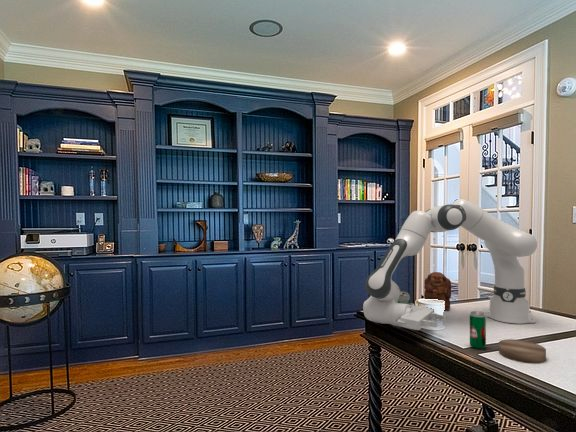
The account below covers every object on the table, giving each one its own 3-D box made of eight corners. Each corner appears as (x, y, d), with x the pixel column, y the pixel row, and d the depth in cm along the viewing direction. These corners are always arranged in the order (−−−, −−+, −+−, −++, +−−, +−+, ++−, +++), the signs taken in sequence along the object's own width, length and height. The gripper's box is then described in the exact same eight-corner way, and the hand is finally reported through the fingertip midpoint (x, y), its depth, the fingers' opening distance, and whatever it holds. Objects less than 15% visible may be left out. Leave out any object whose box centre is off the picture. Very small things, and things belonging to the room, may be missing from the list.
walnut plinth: (501, 345, 131) (501, 336, 131) (546, 353, 123) (546, 344, 123) (496, 357, 120) (496, 347, 120) (545, 366, 113) (545, 356, 112)
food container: (411, 319, 164) (411, 296, 164) (397, 318, 165) (397, 296, 165) (408, 312, 176) (408, 291, 176) (395, 311, 177) (395, 290, 177)
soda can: (466, 344, 132) (466, 310, 132) (480, 344, 132) (480, 310, 132) (475, 349, 127) (474, 314, 127) (489, 349, 127) (489, 314, 127)
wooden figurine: (425, 310, 179) (425, 273, 178) (424, 307, 185) (423, 271, 185) (452, 311, 176) (452, 273, 176) (449, 308, 182) (449, 271, 182)
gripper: (393, 313, 137) (432, 319, 128) (411, 302, 153) (447, 306, 145) (393, 330, 137) (432, 337, 128) (411, 317, 153) (447, 323, 145)
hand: (440, 321), depth 137 cm, fingers open, 8 cm apart
